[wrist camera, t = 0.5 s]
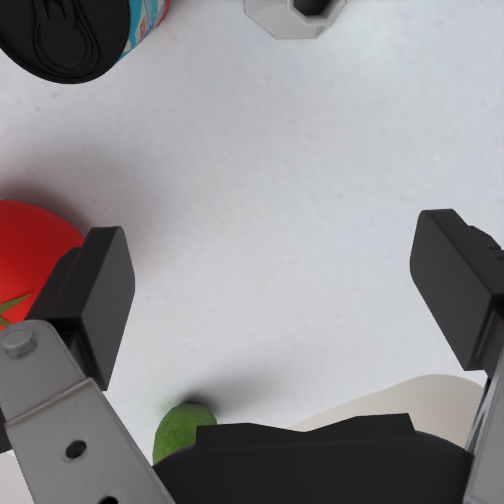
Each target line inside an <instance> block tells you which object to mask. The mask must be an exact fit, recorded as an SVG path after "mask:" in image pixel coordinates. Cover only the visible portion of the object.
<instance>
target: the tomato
mask: <svg viewBox="0 0 504 504" xmlns="http://www.w3.org/2000/svg"><path fill="white" fill-rule="evenodd" d="M84 241H85V240H84V239H83V237H82V236H81V234H80V233H79V232H78V231H77V230H76V229H75V228H74V227H73V226H72V225H70V224H69V223H68V222H67V221H65V220H63V219H62V218H60V217H59V216H57V215H56V214H53V213H51V212H49V211H47V210H45V209H43V208H41V207H38V206H35V205H32V204H29V203H23V202H18V201H12V200H0V331H1V330H2V329H4V328H6V327H8V326H10V325H12V324H15V323H18V322H21V321H23V320H24V318H25V317H26V315H27V313H28V311H29V310H30V308H31V306H32V304H33V303H34V301H35V299H36V297H37V296H38V294H39V292H40V290H41V289H42V287H43V285H45V282H46V280H47V278H48V276H49V275H50V274H51V271H52V269H53V268H54V266H55V264H56V262H57V261H58V259H59V258H60V257H61V256H62V255H64V254H65V253H66V252H67V251H69V250H70V249H71V248H72V247H81V246H82V245H83V243H84Z"/></svg>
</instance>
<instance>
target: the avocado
mask: <svg viewBox="0 0 504 504" xmlns="http://www.w3.org/2000/svg"><path fill="white" fill-rule="evenodd" d="M203 425H217V420H216V418H215V417H214V416H213V414H212V413H211V412H210V410H209V409H208V408H207V407H205V406H202V405H199V404H196V403H192V404H181V405H178V406H176V407H174V408H172V409H171V410H170V411H169V412H168V413H167V414H166V415H165V417H164V418H163V419H162V421H161V423H160V425H159V427H158V429H157V431H156V434H155V441H154V447H153V455H152V456H153V465H154V464H155V463H157V462H158V461H160V460H161V459H162V458H164V457H165V456H167V455H169V454H171V453H172V452H174V451H176V450H178V449H180V448H183V447H185V446H187V445H190V444H194V443H195V442H196V428H197V426H203Z"/></svg>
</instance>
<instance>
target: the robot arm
mask: <svg viewBox="0 0 504 504" xmlns="http://www.w3.org/2000/svg"><path fill="white" fill-rule="evenodd" d="M410 272H411V276H412V279H413V281H414V283H415V285H416V287H417V288H418V290H419V292H420V294H421V295H422V297H423V299H424V301H425V302H426V304H427V306H428V308H429V310H430V311H431V313H432V315H433V317H434V318H435V320H436V322H437V324H438V325H439V327H440V329H441V331H442V333H443V334H444V336H445V338H446V340H447V341H448V343H449V345H450V347H451V349H452V350H453V352H454V354H455V356H456V357H457V359H458V361H459V363H460V364H461V366H462V368H463V370H464V371H473V370H485V372H486V374H487V375H488V377H487V380H486V382H485V385H484V388H483V391H482V394H481V397H480V400H479V403H478V407H477V410H476V413H475V416H474V419H473V422H472V426H471V429H470V432H469V435H468V438H467V442H466V444H465V447H464V449H463V448H461V447H460V446H458V445H455V444H454V443H452V442H450V441H448V440H445V439H443V438H440V437H438V436H435V435H432V434H428V433H425V432H421V431H416V430H415V429H414V427H413V424H412V422H411V419H410V416H409V414H408V413H402V414H386V415H369V416H356V417H353V418H349V419H346V420H343V421H340V422H337V423H334V424H331V425H327V426H324V427H321V428H318V429H315V430H312V431H307V432H299V431H293V430H287V429H282V428H276V427H270V426H265V425H259V424H253V423H236V424H219V425H203V426H197V428H196V442H195V443H194V444H190V445H187V446H185V447H183V448H180V449H178V450H176V451H174V452H172V453H171V454H169V455H167V456H165V457H164V458H162V459H161V460H160V461H158V462H157V463H155V464H154V465H153V466H151V465H150V464H149V462H148V461H147V459H146V458H145V456H144V455H143V453H142V452H141V450H140V449H139V447H138V446H137V444H136V443H135V441H134V439H133V438H132V436H131V435H130V433H129V432H128V430H127V429H126V427H125V426H124V424H123V423H122V421H121V420H120V418H119V417H118V415H117V414H116V412H115V411H114V409H113V408H112V406H111V405H110V403H109V402H108V400H107V399H106V397H105V396H104V394H103V393H102V391H107V389H108V385H109V382H110V378H111V375H112V371H113V368H114V364H115V361H116V357H117V354H118V350H119V347H120V343H121V340H122V336H123V333H124V329H125V326H126V322H127V319H128V315H129V311H130V308H131V304H132V301H133V297H134V293H135V276H134V271H133V266H132V262H131V258H130V254H129V250H128V246H127V241H126V237H125V233H124V230H123V228H122V227H121V226H112V227H94V228H91V229H90V231H89V233H88V235H87V237H86V239H85V241H84V243H83V245H82V246H81V247H72V248H71V249H70V250H69V251H67V252H66V253H65V254H64V255H62V256H61V257H60V258H59V259H58V261H57V262H56V264H55V266H54V268H53V269H52V271H51V274H50V275H49V276H48V278H47V280H46V282H45V285H43V287H42V289H41V290H40V292H39V294H38V296H37V297H36V299H35V301H34V303H33V304H32V306H31V308H30V310H29V311H28V313H27V315H26V317H25V318H24V320H23V321H21V322H18V323H15V324H12V325H10V326H8V327H6V328H4V329H2V330H1V331H0V453H3V452H6V451H9V450H12V449H13V451H14V453H15V456H16V458H17V461H18V463H19V466H20V468H21V471H22V473H23V476H24V478H25V481H26V484H27V486H28V489H29V491H30V494H31V496H32V499H33V501H34V504H504V250H501V247H500V246H499V245H498V244H497V242H496V241H495V240H494V239H493V238H492V237H491V236H490V235H488V234H486V233H485V232H483V231H481V230H479V229H478V228H476V227H474V226H468V225H467V224H466V223H465V222H464V221H463V219H462V218H461V217H460V216H459V215H458V214H457V213H456V212H455V211H454V210H453V209H436V210H423V211H421V213H420V215H419V217H418V221H417V226H416V231H415V236H414V241H413V246H412V251H411V256H410Z"/></svg>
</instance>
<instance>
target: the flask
mask: <svg viewBox="0 0 504 504" xmlns="http://www.w3.org/2000/svg"><path fill="white" fill-rule="evenodd" d="M346 4H347V0H244V11H245V14H246V15H247V16H248V17H250V18H251V19H252V20H253V21H255V22H256V23H257V24H258V25H260V26H261V27H262V28H263V29H265V30H266V31H267V32H268V33H269V34H271V35H272V36H273V37H274V38H276V39H308V38H317V36H318V35H319V33H320V32H321V31H322V29H323V28H324V27H325V26H331V24H332V23H333V22H334V20H335V19H336V17H337V16H338V15H339V13H340V12H341V11H342V9H343V8H344V6H345V5H346Z"/></svg>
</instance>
